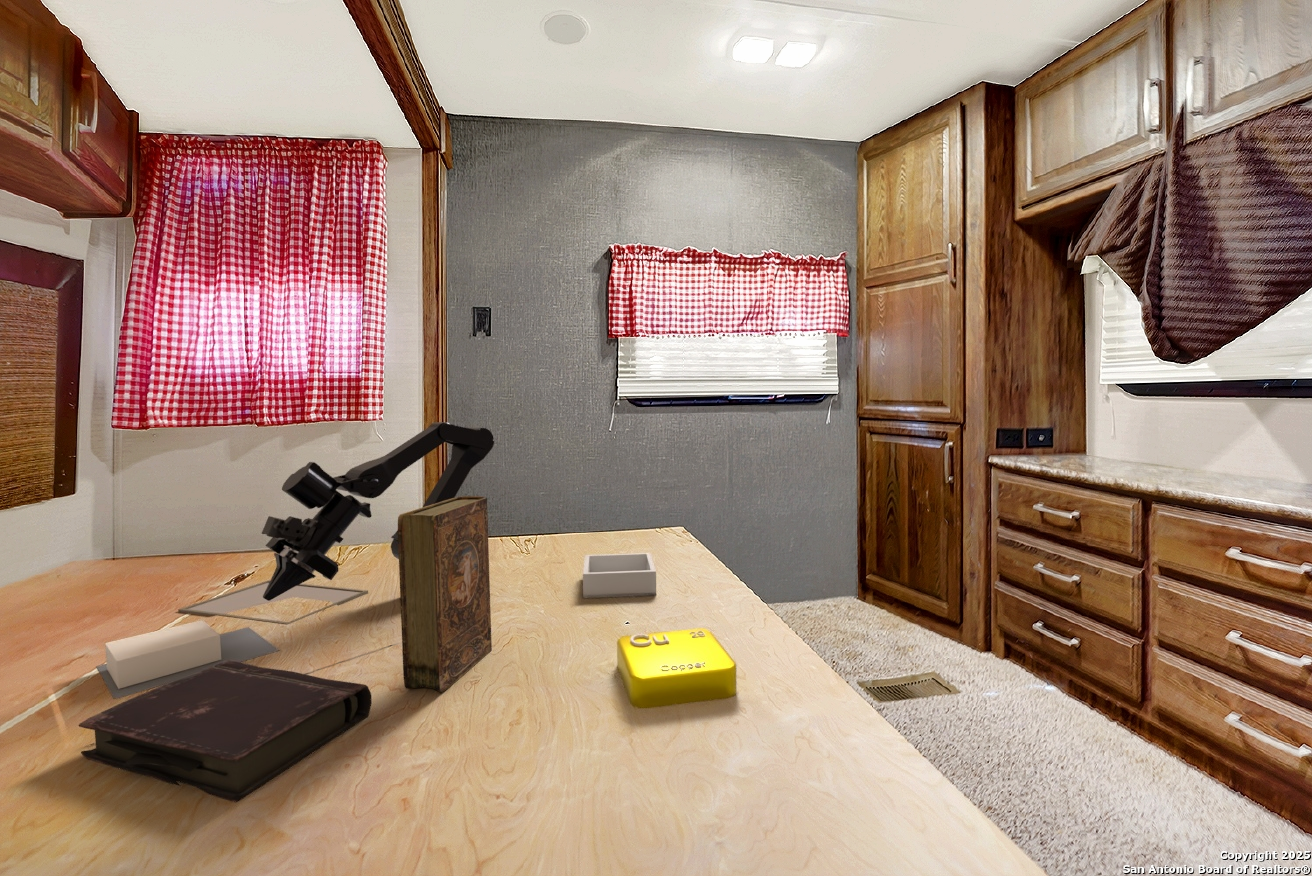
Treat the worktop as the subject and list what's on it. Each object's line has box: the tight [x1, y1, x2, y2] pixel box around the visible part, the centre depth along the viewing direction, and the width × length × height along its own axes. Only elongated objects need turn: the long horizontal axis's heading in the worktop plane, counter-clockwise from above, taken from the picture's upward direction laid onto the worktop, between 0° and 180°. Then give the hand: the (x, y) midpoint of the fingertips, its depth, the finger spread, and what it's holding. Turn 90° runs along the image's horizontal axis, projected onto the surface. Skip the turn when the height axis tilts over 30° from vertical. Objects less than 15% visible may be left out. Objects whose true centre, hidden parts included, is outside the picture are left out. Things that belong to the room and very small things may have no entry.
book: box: [397, 495, 493, 693], centre depth 88 cm, size 16×6×25 cm, turn 168°
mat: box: [96, 626, 281, 700], centre depth 93 cm, size 20×16×1 cm
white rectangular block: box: [104, 619, 221, 689], centre depth 90 cm, size 4×10×12 cm
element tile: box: [616, 628, 737, 709], centre depth 85 cm, size 15×15×5 cm
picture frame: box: [177, 579, 369, 625], centre depth 120 cm, size 19×1×28 cm
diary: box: [78, 660, 373, 804], centre depth 72 cm, size 19×25×5 cm
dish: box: [582, 552, 657, 599], centre depth 128 cm, size 15×15×5 cm
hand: (265, 599), depth 101 cm, fingers closed
